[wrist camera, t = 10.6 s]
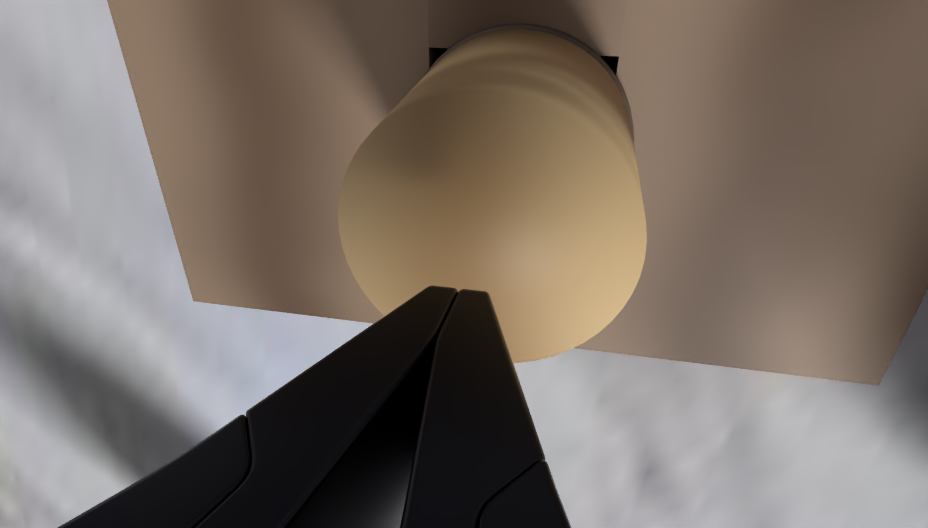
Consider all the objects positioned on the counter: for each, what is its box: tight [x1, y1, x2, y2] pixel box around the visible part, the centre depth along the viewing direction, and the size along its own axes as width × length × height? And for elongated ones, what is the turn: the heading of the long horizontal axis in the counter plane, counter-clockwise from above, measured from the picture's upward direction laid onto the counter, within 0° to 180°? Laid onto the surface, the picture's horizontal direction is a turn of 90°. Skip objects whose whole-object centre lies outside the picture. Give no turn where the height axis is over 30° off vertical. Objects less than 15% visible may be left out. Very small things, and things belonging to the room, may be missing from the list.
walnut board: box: [107, 0, 928, 385], centre depth 15 cm, size 20×12×2 cm, turn 89°
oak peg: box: [338, 23, 647, 363], centre depth 13 cm, size 5×5×7 cm
